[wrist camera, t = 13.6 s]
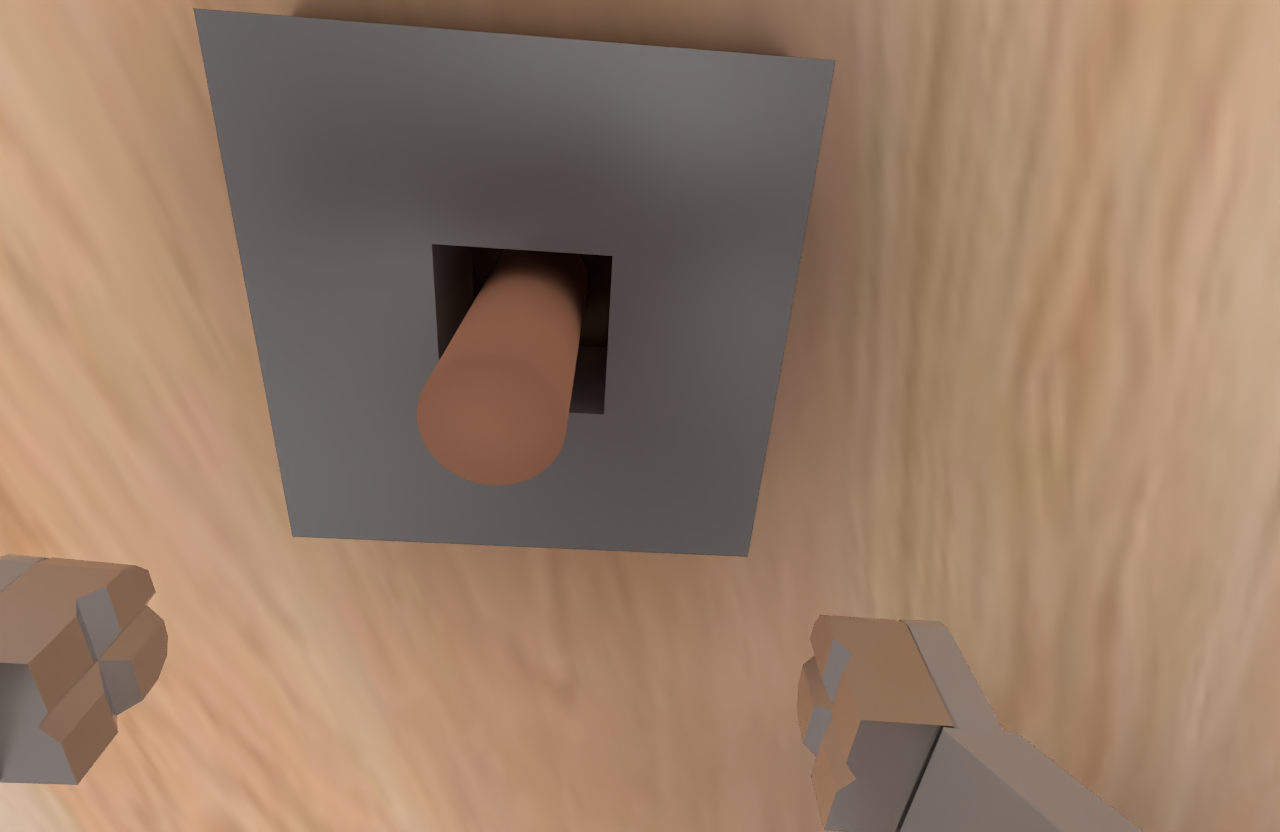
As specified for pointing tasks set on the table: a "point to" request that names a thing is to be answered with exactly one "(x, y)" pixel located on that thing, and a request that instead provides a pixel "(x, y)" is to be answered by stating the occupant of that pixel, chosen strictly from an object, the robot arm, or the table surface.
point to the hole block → (523, 220)
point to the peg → (508, 371)
